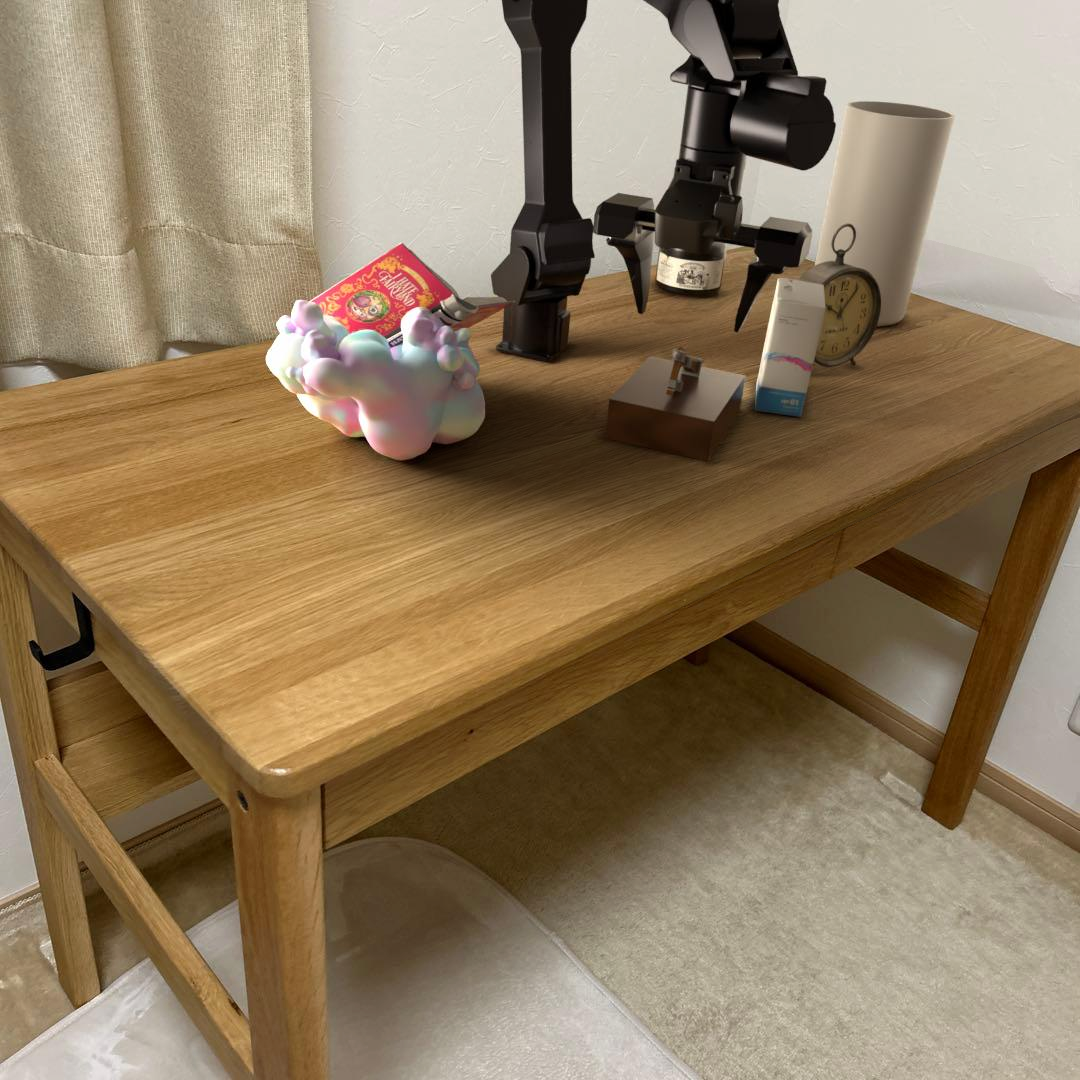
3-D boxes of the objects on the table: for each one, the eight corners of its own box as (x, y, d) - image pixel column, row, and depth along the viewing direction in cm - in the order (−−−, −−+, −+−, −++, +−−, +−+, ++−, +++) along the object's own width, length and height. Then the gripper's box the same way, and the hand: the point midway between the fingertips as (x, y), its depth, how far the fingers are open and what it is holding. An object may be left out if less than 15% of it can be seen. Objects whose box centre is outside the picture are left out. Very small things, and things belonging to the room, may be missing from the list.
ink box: (803, 419, 108) (827, 305, 102) (754, 412, 109) (774, 298, 103) (802, 388, 116) (824, 280, 110) (756, 382, 116) (775, 274, 110)
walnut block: (604, 438, 101) (608, 398, 99) (645, 392, 112) (650, 355, 110) (707, 461, 98) (714, 421, 96) (739, 412, 109) (745, 375, 107)
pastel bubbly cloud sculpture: (261, 438, 85) (375, 244, 80) (221, 335, 102) (314, 169, 97) (462, 523, 97) (573, 358, 92) (397, 418, 113) (488, 274, 109)
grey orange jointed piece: (657, 392, 99) (669, 343, 98) (675, 398, 106) (686, 353, 106) (676, 396, 98) (688, 347, 98) (692, 402, 106) (703, 356, 105)
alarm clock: (794, 382, 117) (824, 232, 109) (764, 364, 121) (790, 219, 113) (869, 371, 122) (904, 227, 114) (838, 354, 126) (869, 214, 118)
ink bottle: (648, 293, 142) (660, 201, 136) (653, 275, 149) (664, 186, 143) (722, 302, 141) (737, 209, 134) (723, 283, 148) (737, 194, 142)
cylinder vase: (841, 292, 148) (882, 99, 136) (921, 317, 141) (973, 115, 128) (787, 306, 141) (826, 103, 128) (869, 334, 133) (919, 121, 121)
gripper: (579, 145, 88) (564, 328, 96) (805, 178, 83) (770, 368, 91) (621, 127, 97) (605, 295, 105) (828, 156, 92) (794, 331, 100)
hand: (688, 321), depth 100 cm, fingers open, 9 cm apart
